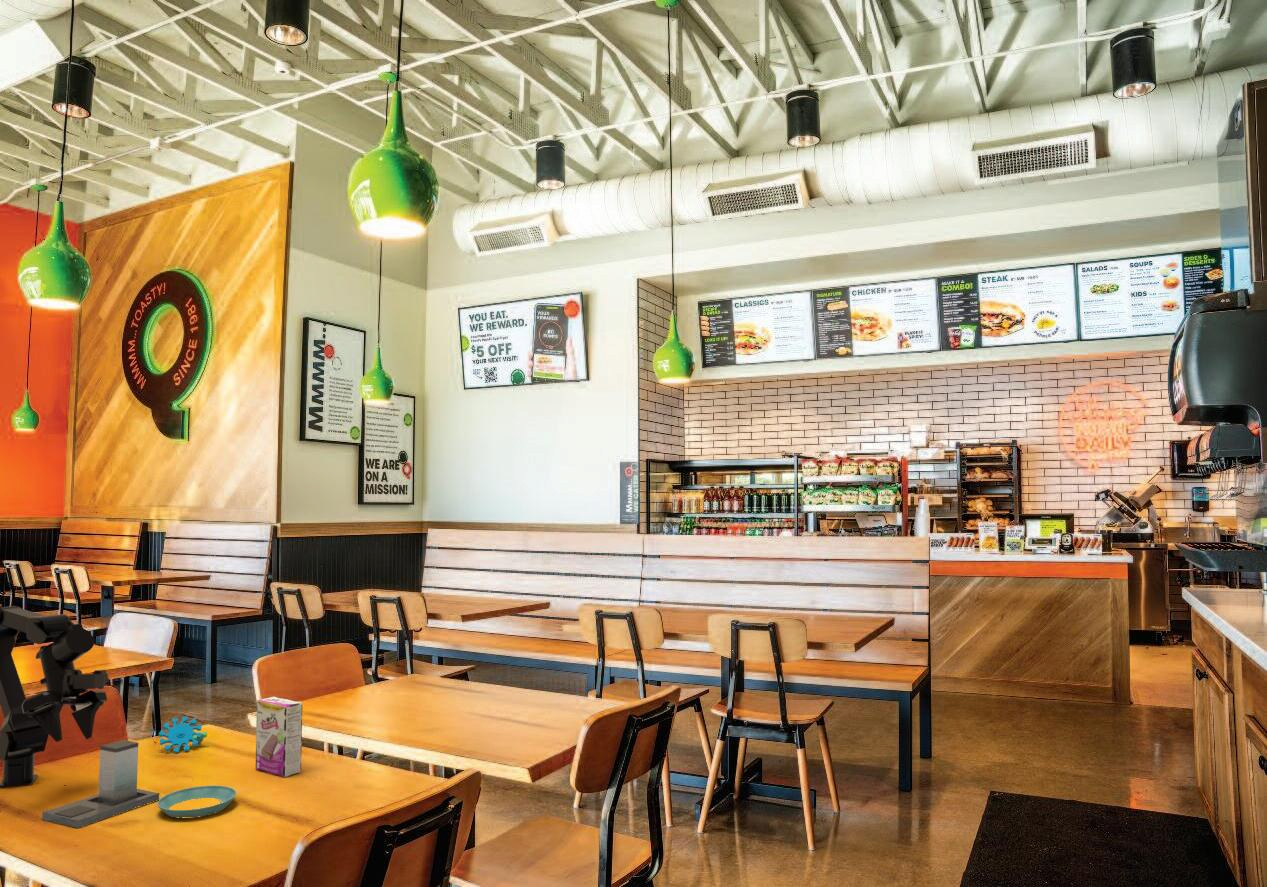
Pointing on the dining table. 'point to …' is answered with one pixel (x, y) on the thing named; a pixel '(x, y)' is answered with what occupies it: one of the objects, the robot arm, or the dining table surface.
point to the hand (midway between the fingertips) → (74, 739)
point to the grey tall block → (118, 772)
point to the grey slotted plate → (94, 809)
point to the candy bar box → (279, 736)
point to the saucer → (195, 793)
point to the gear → (182, 735)
